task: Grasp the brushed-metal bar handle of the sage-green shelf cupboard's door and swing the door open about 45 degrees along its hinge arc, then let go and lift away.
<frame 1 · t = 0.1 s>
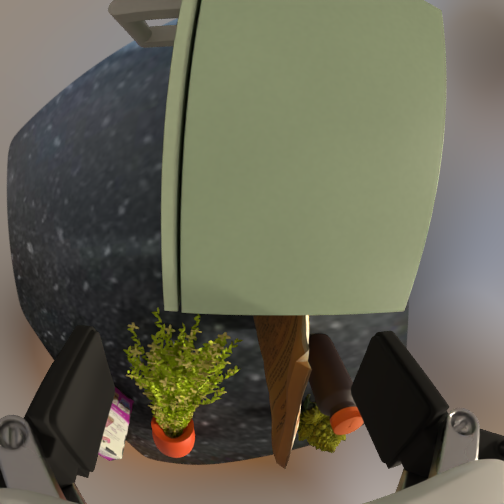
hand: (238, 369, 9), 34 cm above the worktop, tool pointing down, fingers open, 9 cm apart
vegetable: (317, 409, 62), on the worktop
bottle: (314, 345, 54), on the worktop
pancake mix bag: (267, 286, 47), on the worktop
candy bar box: (111, 390, 54), on the worktop
door: (158, 123, 25), point 12 cm above the worktop, hinge at 0.0°
potted plant: (183, 385, 54), on the worktop
cabinet: (271, 134, 38), on the worktop
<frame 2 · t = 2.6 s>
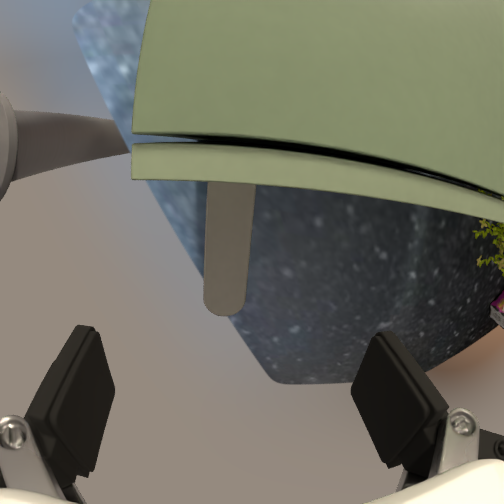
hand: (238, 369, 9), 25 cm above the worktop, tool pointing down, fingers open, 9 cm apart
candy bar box: (502, 296, 46), on the worktop
door: (358, 212, 21), point 12 cm above the worktop, hinge at 0.0°
cabinet: (322, 77, 28), on the worktop
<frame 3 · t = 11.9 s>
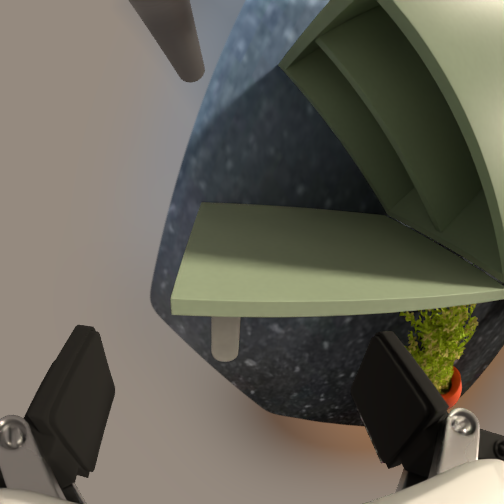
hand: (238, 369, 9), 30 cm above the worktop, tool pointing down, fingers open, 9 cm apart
door: (328, 273, 28), point 12 cm above the worktop, hinge at 45.3°
potted plant: (432, 346, 52), on the worktop
cabinet: (384, 108, 34), on the worktop
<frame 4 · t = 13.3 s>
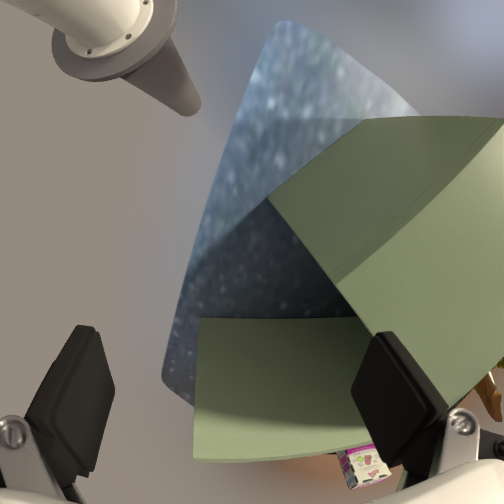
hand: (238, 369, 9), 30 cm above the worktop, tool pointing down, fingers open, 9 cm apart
pancake mix bag: (423, 310, 49), on the worktop
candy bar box: (352, 437, 64), on the worktop
door: (297, 391, 35), point 12 cm above the worktop, hinge at 45.3°
cabinet: (367, 227, 41), on the worktop
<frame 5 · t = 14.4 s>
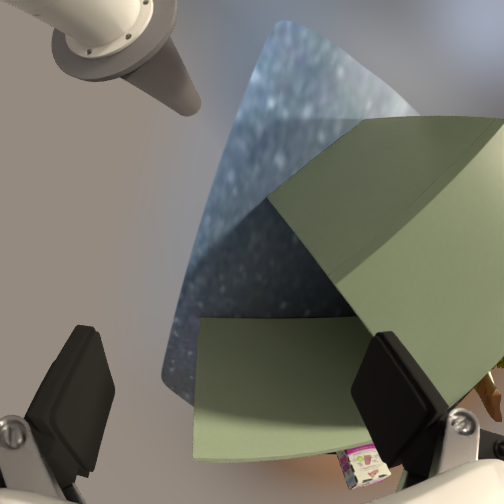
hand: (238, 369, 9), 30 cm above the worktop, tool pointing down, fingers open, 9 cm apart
pancake mix bag: (423, 309, 49), on the worktop
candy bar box: (352, 436, 64), on the worktop
door: (297, 391, 35), point 12 cm above the worktop, hinge at 45.3°
cabinet: (367, 227, 41), on the worktop
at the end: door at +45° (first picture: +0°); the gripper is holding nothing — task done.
